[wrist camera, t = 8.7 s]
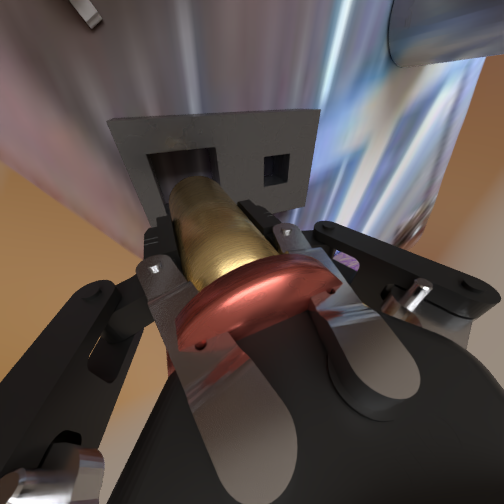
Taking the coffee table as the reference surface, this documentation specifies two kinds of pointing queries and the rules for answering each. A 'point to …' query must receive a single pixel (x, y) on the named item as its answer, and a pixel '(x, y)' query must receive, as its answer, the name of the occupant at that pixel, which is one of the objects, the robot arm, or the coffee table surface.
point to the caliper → (87, 12)
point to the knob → (234, 269)
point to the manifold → (225, 153)
